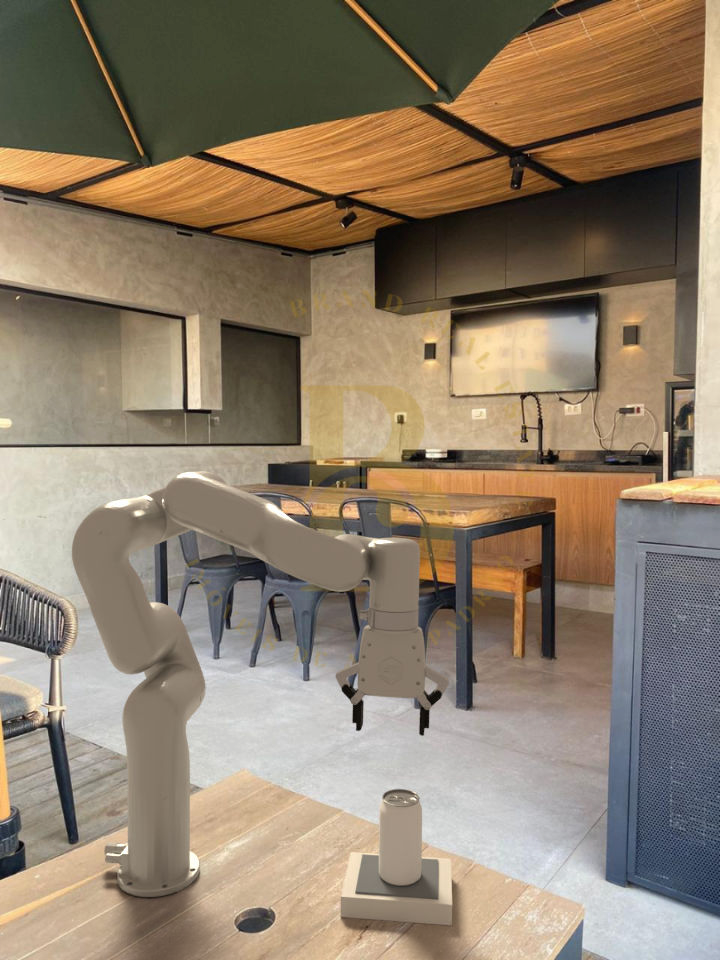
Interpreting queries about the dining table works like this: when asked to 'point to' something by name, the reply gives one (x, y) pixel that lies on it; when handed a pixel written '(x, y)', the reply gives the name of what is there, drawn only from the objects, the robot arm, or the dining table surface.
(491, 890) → the dining table surface
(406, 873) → the can
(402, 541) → the robot arm
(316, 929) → the dining table surface
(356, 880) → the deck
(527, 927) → the dining table surface
